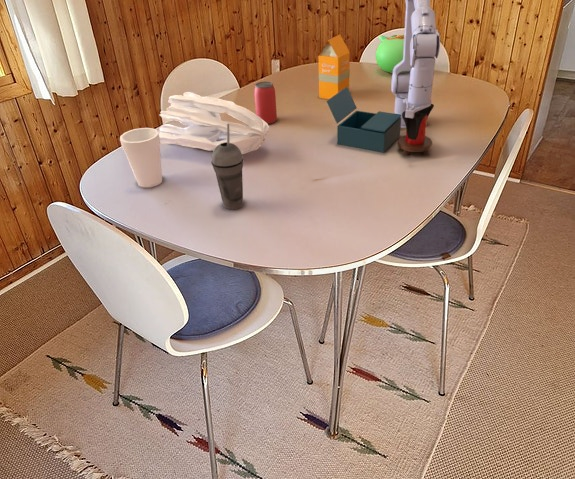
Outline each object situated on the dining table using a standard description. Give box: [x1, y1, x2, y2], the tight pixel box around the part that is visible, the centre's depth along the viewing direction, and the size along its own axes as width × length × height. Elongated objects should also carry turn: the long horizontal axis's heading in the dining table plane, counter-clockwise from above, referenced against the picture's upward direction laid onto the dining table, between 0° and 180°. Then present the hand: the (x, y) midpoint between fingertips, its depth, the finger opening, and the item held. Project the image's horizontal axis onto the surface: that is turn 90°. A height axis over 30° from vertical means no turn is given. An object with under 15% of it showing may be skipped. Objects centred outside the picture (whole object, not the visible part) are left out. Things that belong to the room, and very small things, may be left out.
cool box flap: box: [326, 87, 358, 124], centre depth 142 cm, size 7×13×1 cm
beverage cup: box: [210, 124, 244, 211], centre depth 112 cm, size 7×7×20 cm
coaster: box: [397, 134, 433, 156], centre depth 135 cm, size 9×9×4 cm
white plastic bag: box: [158, 91, 270, 155], centre depth 140 cm, size 17×18×35 cm
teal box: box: [336, 110, 402, 154], centre depth 141 cm, size 14×13×7 cm
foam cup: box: [119, 127, 163, 189], centre depth 126 cm, size 10×9×13 cm
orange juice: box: [317, 33, 351, 100], centre depth 171 cm, size 8×9×20 cm
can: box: [405, 111, 428, 145], centre depth 131 cm, size 5×5×8 cm
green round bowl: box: [375, 34, 410, 74], centre depth 191 cm, size 18×17×15 cm
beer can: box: [253, 80, 278, 125], centre depth 157 cm, size 7×7×12 cm
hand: (415, 134), depth 133 cm, fingers closed on can, 5 cm apart
